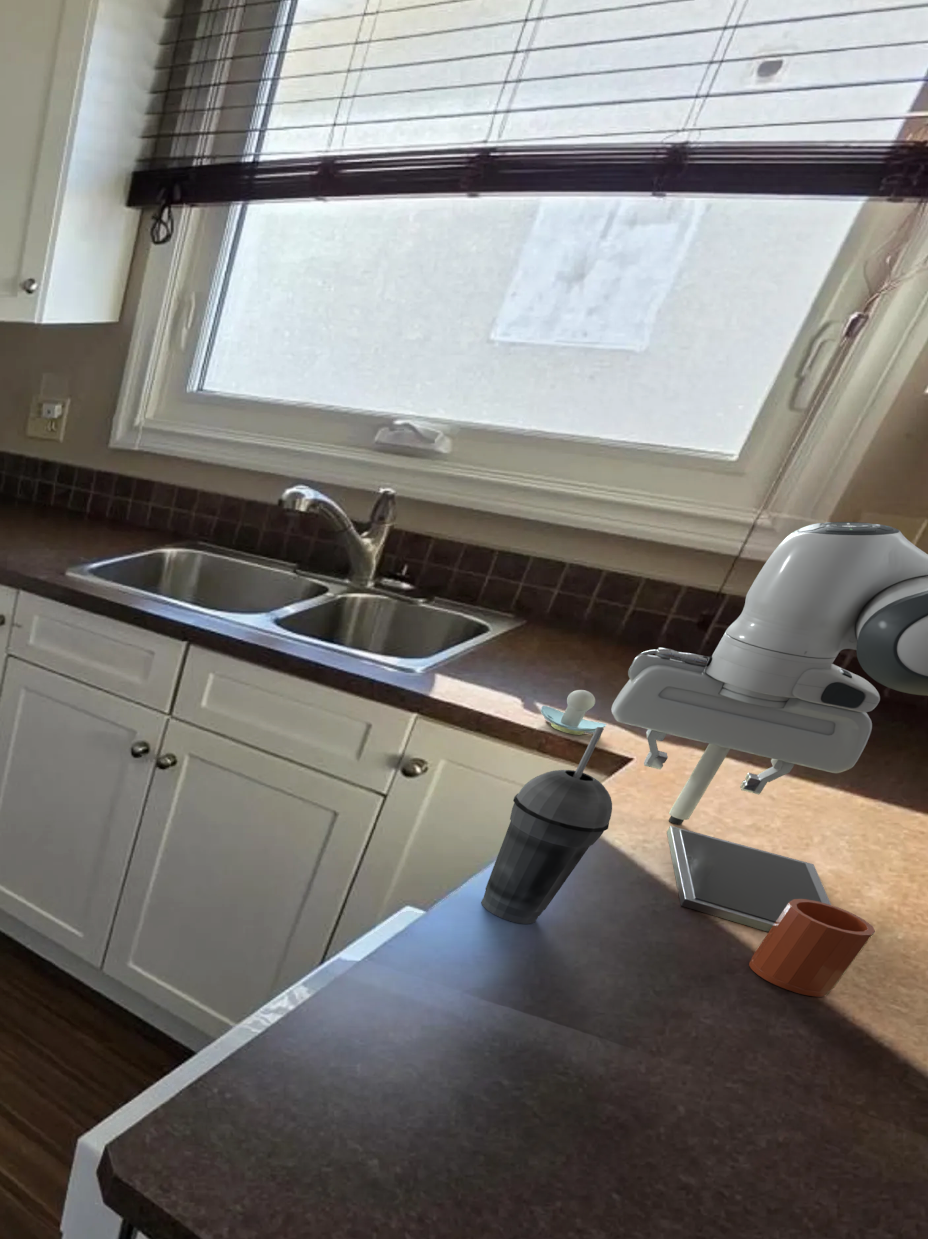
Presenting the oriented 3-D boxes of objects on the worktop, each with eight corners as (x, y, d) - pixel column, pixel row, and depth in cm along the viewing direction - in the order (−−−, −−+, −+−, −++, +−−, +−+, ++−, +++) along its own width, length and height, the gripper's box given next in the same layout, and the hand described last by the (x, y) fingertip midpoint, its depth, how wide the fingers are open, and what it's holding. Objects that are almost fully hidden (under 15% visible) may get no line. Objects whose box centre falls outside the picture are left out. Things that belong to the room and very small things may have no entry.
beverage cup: (466, 914, 101) (556, 734, 92) (463, 881, 106) (549, 708, 97) (557, 941, 97) (661, 757, 88) (549, 906, 103) (647, 729, 94)
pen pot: (823, 976, 95) (867, 915, 91) (834, 1005, 91) (881, 942, 88) (745, 951, 97) (785, 891, 94) (752, 979, 94) (794, 917, 90)
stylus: (684, 822, 121) (747, 715, 114) (685, 827, 120) (749, 720, 113) (664, 816, 122) (726, 710, 115) (665, 822, 120) (727, 715, 114)
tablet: (809, 870, 112) (814, 863, 111) (844, 955, 98) (850, 947, 97) (666, 831, 118) (670, 824, 118) (680, 905, 104) (685, 897, 104)
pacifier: (543, 716, 149) (530, 723, 145) (563, 676, 146) (550, 683, 143) (606, 735, 143) (593, 743, 140) (627, 694, 141) (615, 701, 137)
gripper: (644, 650, 115) (586, 758, 121) (902, 703, 104) (825, 819, 110) (641, 636, 119) (585, 741, 126) (888, 686, 108) (814, 798, 115)
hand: (699, 778), depth 118 cm, fingers open, 7 cm apart
